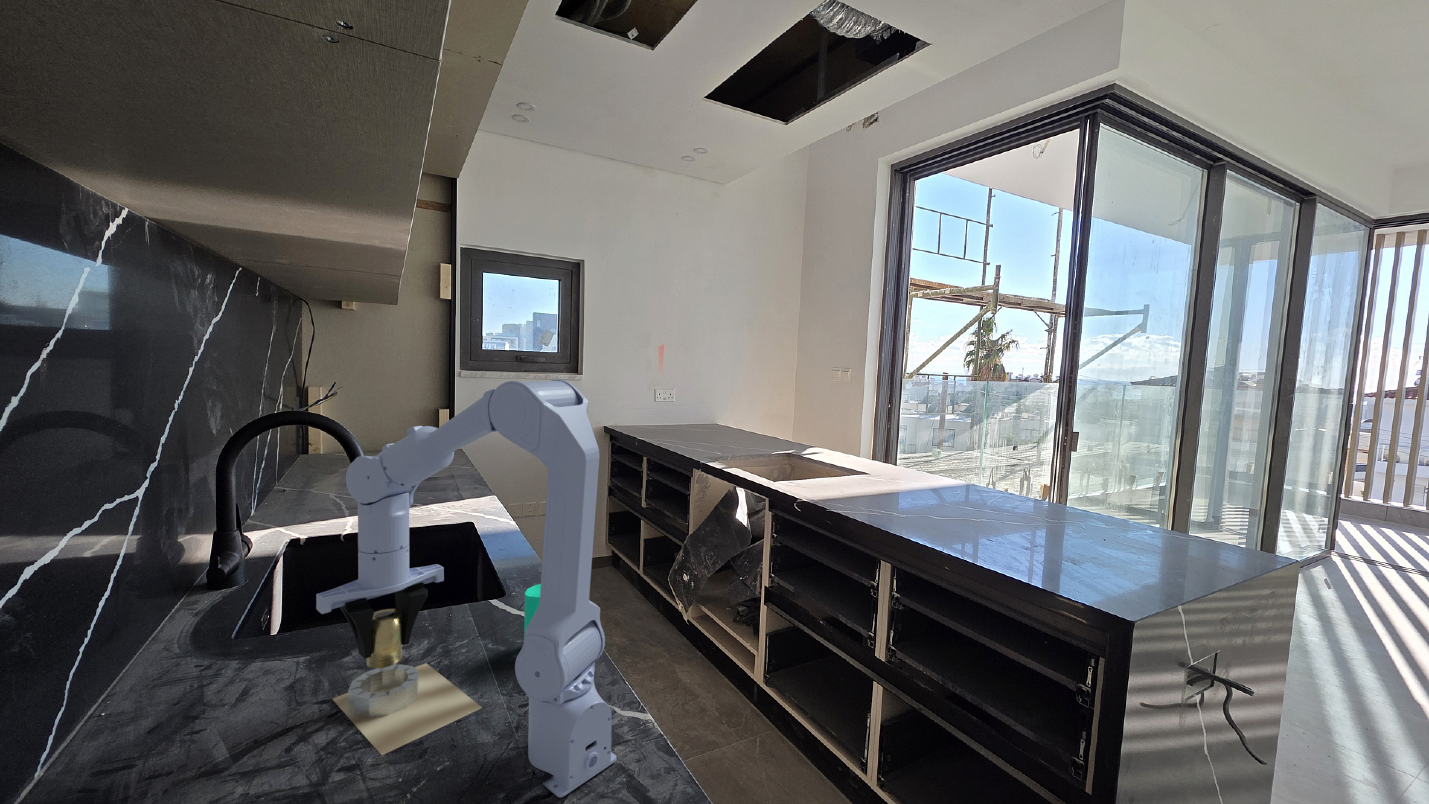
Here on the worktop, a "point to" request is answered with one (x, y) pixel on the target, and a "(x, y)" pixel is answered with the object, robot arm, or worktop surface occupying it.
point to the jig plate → (414, 712)
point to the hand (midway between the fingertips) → (384, 648)
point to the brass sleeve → (386, 638)
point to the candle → (531, 604)
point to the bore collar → (388, 701)
